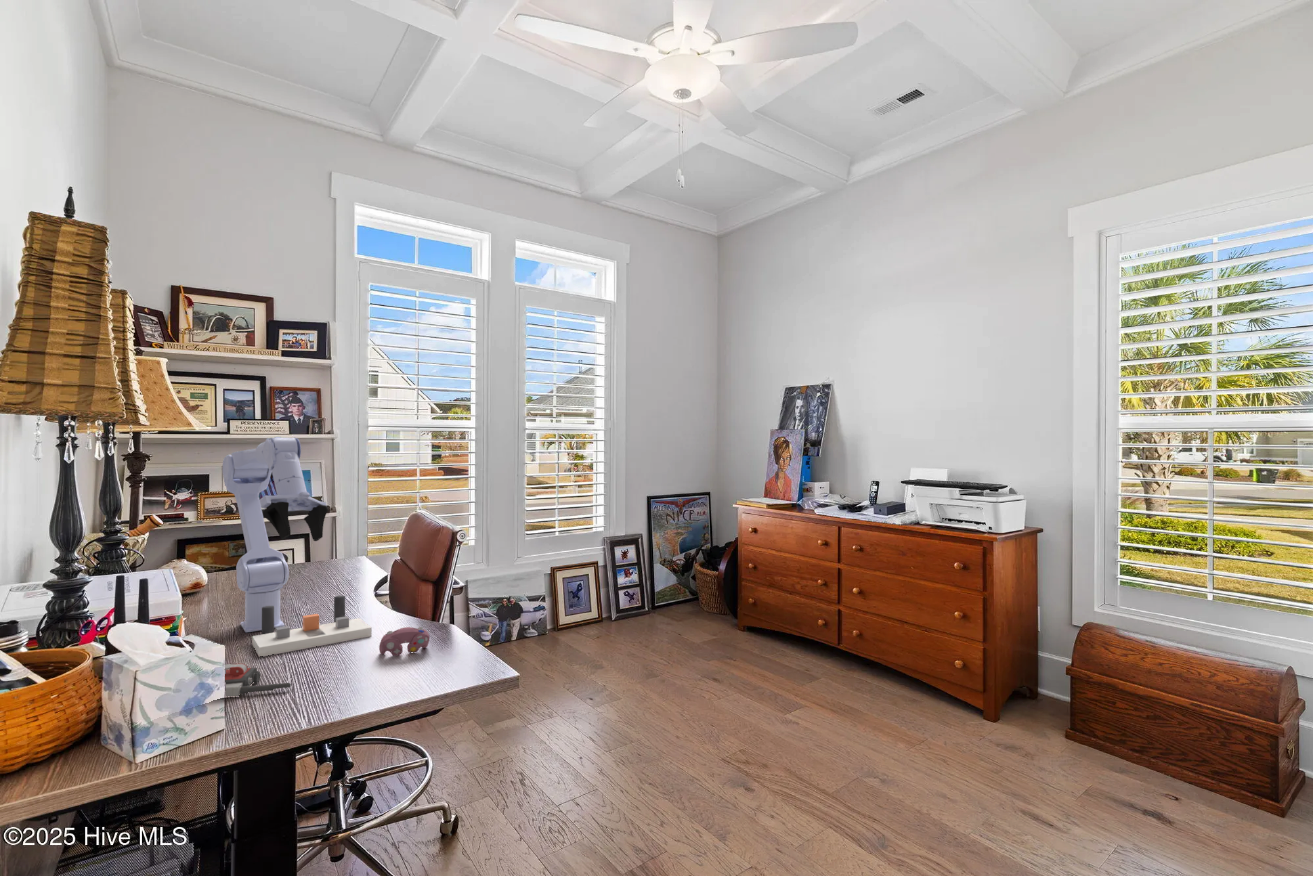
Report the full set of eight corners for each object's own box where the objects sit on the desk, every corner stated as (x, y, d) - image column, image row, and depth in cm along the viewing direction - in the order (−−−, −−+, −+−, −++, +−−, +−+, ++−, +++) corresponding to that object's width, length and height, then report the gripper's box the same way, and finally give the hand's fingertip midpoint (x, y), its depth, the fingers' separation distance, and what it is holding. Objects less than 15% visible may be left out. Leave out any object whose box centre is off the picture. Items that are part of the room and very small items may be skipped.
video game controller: (379, 665, 130) (380, 639, 127) (378, 650, 134) (379, 624, 131) (429, 658, 135) (432, 632, 132) (427, 643, 138) (429, 618, 135)
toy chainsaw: (156, 708, 107) (289, 695, 112) (156, 682, 107) (289, 670, 112) (180, 688, 115) (302, 677, 120) (180, 664, 115) (302, 654, 120)
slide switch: (302, 629, 143) (302, 616, 143) (317, 626, 145) (317, 613, 145) (304, 631, 142) (304, 617, 142) (319, 628, 143) (319, 615, 144)
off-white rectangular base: (252, 645, 138) (252, 627, 138) (359, 626, 152) (359, 609, 152) (259, 657, 130) (259, 637, 131) (371, 636, 145) (371, 618, 145)
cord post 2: (332, 625, 153) (333, 596, 153) (343, 623, 155) (343, 595, 155) (335, 627, 151) (335, 598, 151) (346, 625, 153) (346, 596, 153)
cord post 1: (260, 637, 144) (261, 606, 144) (273, 635, 145) (273, 605, 145) (262, 640, 142) (262, 609, 142) (274, 638, 143) (274, 607, 143)
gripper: (270, 470, 133) (283, 526, 128) (330, 479, 146) (343, 531, 141) (249, 486, 135) (260, 543, 130) (310, 494, 148) (322, 546, 143)
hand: (302, 538), depth 136 cm, fingers open, 7 cm apart
